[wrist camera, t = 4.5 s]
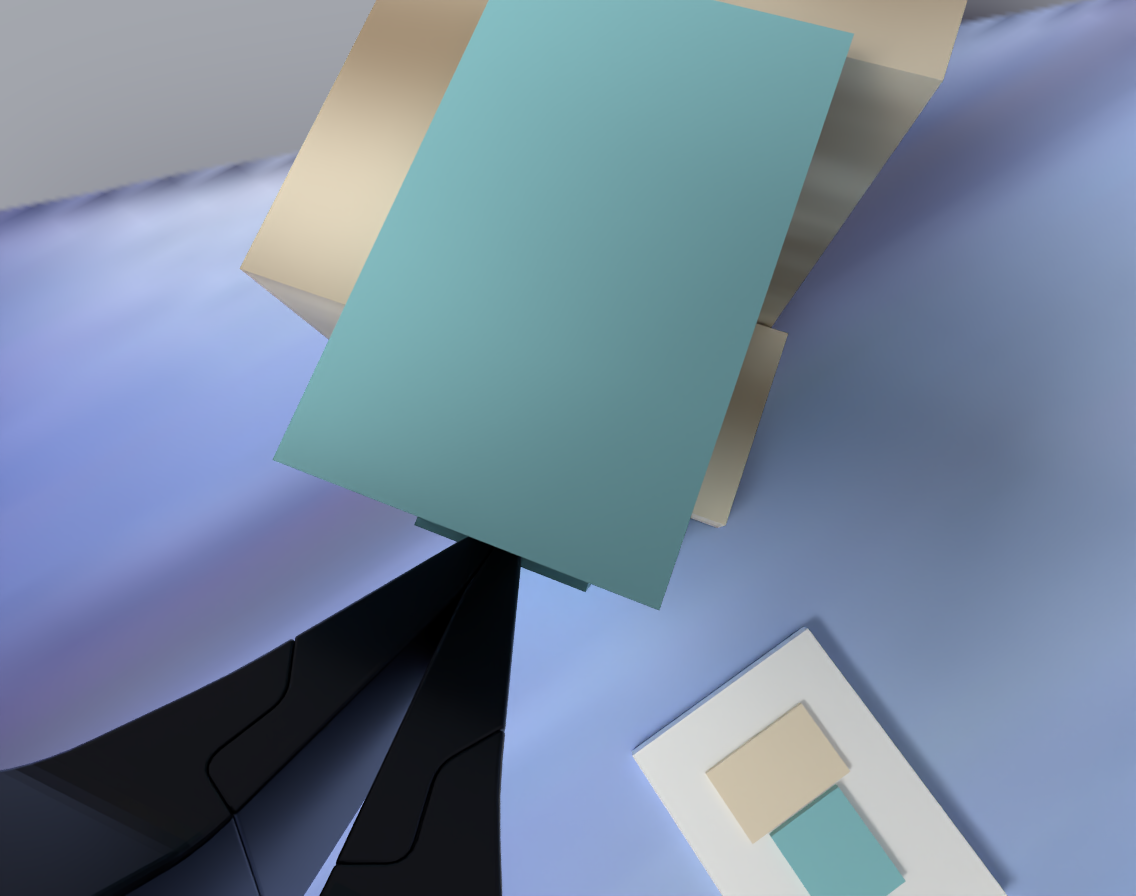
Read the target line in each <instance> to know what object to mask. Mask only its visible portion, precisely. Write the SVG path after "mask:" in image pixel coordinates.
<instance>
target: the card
mask: <svg viewBox="0 0 1136 896" xmlns="http://www.w3.org/2000/svg"><path fill="white" fill-rule="evenodd" d="M632 756H633V757H634V759H635V761H636V762H637V764H638V765H639V767H640V768H641V770H642V771H643V773H644V775H645V776H646V778H647V779H648V781H649V782H650V784H651V785H652V787H653V789H654V790H655V792H656V793H657V795H658V796H659V798H660V799H661V801H662V803H663V804H664V806H665V807H666V809H667V810H668V812H669V813H670V815H671V817H672V818H673V820H674V821H675V823H676V824H677V826H678V827H679V829H680V831H681V832H682V834H683V835H684V837H685V838H686V840H687V841H688V843H689V845H690V846H691V848H692V849H693V851H694V852H695V854H696V855H697V857H698V859H699V860H700V862H701V863H702V865H703V866H704V868H705V869H706V871H707V873H708V874H709V876H710V877H711V879H712V880H713V882H714V883H715V885H716V887H717V888H718V890H719V891H720V893H721V894H722V896H1007V895H1006V893H1005V892H1004V891H1003V889H1002V888H1001V886H1000V885H999V884H998V882H997V881H996V880H995V878H994V877H993V876H992V874H991V873H990V872H989V870H988V869H987V868H986V866H985V865H984V864H983V862H982V861H981V860H980V858H979V857H978V856H977V854H976V853H975V852H974V850H973V849H972V848H971V846H970V845H969V844H968V842H967V841H966V840H965V838H964V837H963V836H962V834H961V833H960V832H959V830H958V829H957V828H956V826H955V825H954V824H953V822H952V821H951V820H950V818H949V817H948V815H947V814H946V813H945V811H944V810H943V809H942V807H941V806H940V805H939V803H938V802H937V801H936V799H935V798H934V797H933V795H932V794H931V793H930V791H929V790H928V789H927V787H926V786H925V785H924V783H923V782H922V781H921V779H920V778H919V777H918V775H917V774H916V773H915V771H914V770H913V769H912V767H911V766H910V765H909V763H908V762H907V761H906V759H905V758H904V757H903V755H902V754H901V753H900V751H899V750H898V748H897V747H896V746H895V744H894V743H893V742H892V740H891V739H890V738H889V736H888V735H887V734H886V732H885V731H884V730H883V728H882V727H881V726H880V724H879V723H878V722H877V720H876V719H875V718H874V716H873V715H872V714H871V712H870V711H869V710H868V708H867V707H866V706H865V704H864V703H863V702H862V700H861V699H860V698H859V696H858V695H857V694H856V692H855V691H854V690H853V688H852V687H851V686H850V684H849V683H848V681H847V680H846V679H845V677H844V676H843V675H842V673H841V672H840V671H839V669H838V668H837V667H836V665H835V664H834V663H833V661H832V660H831V659H830V657H829V656H828V655H827V653H826V652H825V651H824V649H823V648H822V647H821V645H820V644H819V643H818V641H817V640H816V639H815V637H814V636H813V635H812V633H811V632H810V631H809V629H808V628H805V627H802V628H801V629H800V630H798V631H797V632H795V633H794V634H793V635H791V636H790V637H788V638H787V639H786V640H784V641H783V642H782V643H780V644H779V645H777V646H776V647H775V648H773V649H772V650H771V651H769V652H768V653H766V654H765V655H764V656H762V657H761V658H760V659H758V660H757V661H755V662H754V663H753V664H751V665H750V666H748V667H747V668H746V669H744V670H743V671H742V672H740V673H739V674H737V675H736V676H735V677H733V678H732V679H731V680H729V681H728V682H726V683H725V684H724V685H722V686H721V687H720V688H718V689H717V690H715V691H714V692H713V693H711V694H710V695H708V696H707V697H706V698H704V699H703V700H702V701H700V702H699V703H697V704H696V705H695V706H693V707H692V708H691V709H689V710H688V711H686V712H685V713H684V714H682V715H681V716H680V717H678V718H677V719H675V720H674V721H673V722H671V723H670V724H668V725H667V726H666V727H664V728H663V729H662V730H660V731H659V732H657V733H656V734H655V735H653V736H652V737H651V738H649V739H648V740H646V741H645V742H644V743H642V744H641V745H639V746H638V747H637V748H635V749H634V750H633V751H632Z"/></svg>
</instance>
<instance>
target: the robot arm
mask: <svg viewBox="0 0 1136 896" xmlns="http://www.w3.org/2000/svg"><path fill="white" fill-rule="evenodd" d="M521 558H522V557H521V556H518V555H516V554H513V553H510V552H508V551H505V550H503V549H500V548H498V547H495V546H492V545H490V544H487V543H485V542H482V541H480V540H477V539H474V538H472V537H469V536H467V537H465V538H464V539H462V540H460V541H458V542H457V543H455V544H453V545H452V546H450V547H448V548H447V549H445V550H443V551H441V552H440V553H438V554H436V555H435V556H433V557H431V558H429V559H428V560H426V561H424V562H423V563H421V564H419V565H417V566H416V567H414V568H412V569H411V570H409V571H407V572H405V573H404V574H402V575H400V576H399V577H397V578H395V579H393V580H392V581H390V582H388V583H387V584H385V585H383V586H381V587H380V588H378V589H376V590H375V591H373V592H371V593H370V594H368V595H366V596H364V597H363V598H361V599H359V600H358V601H356V602H354V603H352V604H351V605H349V606H347V607H346V608H344V609H342V610H340V611H339V612H337V613H335V614H334V615H332V616H330V617H328V618H327V619H325V620H323V621H322V622H320V623H318V624H316V625H315V626H313V627H311V628H310V629H308V630H306V631H304V632H303V633H301V634H299V635H298V636H296V638H295V641H294V640H292V639H291V640H289V641H287V642H285V643H284V644H282V645H280V646H278V647H277V648H275V649H273V650H272V651H270V652H268V653H266V654H265V655H263V656H261V657H259V658H257V659H256V660H254V661H252V662H250V663H248V664H246V665H245V666H243V667H241V668H239V669H237V670H236V671H234V672H232V673H230V674H228V675H226V676H224V677H222V678H220V679H218V680H216V681H214V682H212V683H210V684H208V685H206V686H204V687H202V688H200V689H198V690H196V691H194V692H192V693H190V694H188V695H186V696H183V697H181V698H179V699H177V700H175V701H173V702H171V703H169V704H166V705H164V706H162V707H160V708H158V709H156V710H154V711H152V712H150V713H147V714H145V715H143V716H141V717H139V718H137V719H135V720H133V721H130V722H128V723H126V724H124V725H122V726H120V727H118V728H116V729H114V730H111V731H109V732H107V733H105V734H103V735H101V736H99V737H97V738H94V739H92V740H90V741H88V742H86V743H84V744H81V745H79V746H77V747H74V748H72V749H70V750H67V751H65V752H62V753H59V754H57V755H54V756H52V757H49V758H46V759H42V760H39V761H36V762H33V763H30V764H26V765H22V766H19V767H15V768H11V769H6V770H1V771H0V896H304V894H305V893H306V891H307V890H308V888H309V887H310V885H311V883H312V882H313V880H314V879H315V877H316V876H317V874H318V872H319V871H320V869H321V868H322V866H323V865H324V863H325V861H326V860H327V858H328V857H329V855H330V853H331V852H332V850H333V849H334V847H335V846H336V844H337V842H338V841H339V839H340V838H341V836H342V835H343V833H344V831H345V830H346V828H347V827H348V825H349V824H350V822H351V820H352V819H353V817H354V816H355V814H356V813H357V811H358V809H359V808H360V806H361V805H362V803H363V801H364V800H365V801H364V803H363V805H362V807H361V809H360V812H359V814H358V816H357V818H356V820H355V822H354V824H353V826H352V829H351V831H350V833H349V835H348V837H347V839H346V841H345V843H344V846H343V848H342V850H341V852H340V854H339V856H338V858H337V861H336V866H334V868H333V869H332V871H331V873H330V876H329V878H328V880H327V882H326V884H325V886H324V888H323V890H322V892H321V893H320V895H319V896H502V871H501V841H500V793H501V777H502V760H503V749H504V739H505V733H504V731H505V726H506V715H507V705H508V694H509V684H510V673H511V663H512V652H513V642H514V631H515V621H516V610H517V600H518V589H519V579H520V568H521ZM365 798H366V799H365Z"/></svg>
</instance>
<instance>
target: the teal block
mask: <svg viewBox="0 0 1136 896" xmlns="http://www.w3.org/2000/svg"><path fill="white" fill-rule="evenodd" d="M853 36H854V33H849V32H845V31H841V30H837V29H833V28H828V27H824V26H820V25H816V24H812V23H807V22H803V21H799V20H795V19H791V18H786V17H782V16H778V15H774V14H770V13H765V12H761V11H757V10H753V9H749V8H745V7H740V6H736V5H732V4H728V3H724V2H719V1H715V0H489V1H488V3H487V5H486V7H485V9H484V11H483V13H482V15H481V18H480V20H479V22H478V24H477V26H476V28H475V30H474V32H473V35H472V37H471V39H470V41H469V43H468V45H467V47H466V49H465V52H464V54H463V56H462V58H461V60H460V62H459V64H458V66H457V69H456V71H455V73H454V75H453V77H452V79H451V81H450V83H449V86H448V88H447V90H446V92H445V94H444V96H443V98H442V100H441V103H440V105H439V107H438V109H437V111H436V113H435V115H434V117H433V120H432V122H431V124H430V126H429V128H428V130H427V132H426V134H425V137H424V139H423V141H422V143H421V145H420V147H419V149H418V152H417V154H416V156H415V158H414V160H413V162H412V164H411V166H410V169H409V171H408V173H407V175H406V177H405V179H404V181H403V183H402V186H401V188H400V190H399V192H398V194H397V196H396V198H395V200H394V203H393V205H392V207H391V209H390V211H389V213H388V215H387V217H386V220H385V222H384V224H383V226H382V228H381V230H380V232H379V234H378V237H377V239H376V241H375V243H374V245H373V247H372V249H371V251H370V254H369V256H368V258H367V260H366V262H365V264H364V266H363V268H362V271H361V273H360V275H359V277H358V279H357V281H356V283H355V285H354V288H353V290H352V292H351V294H350V296H349V298H348V300H347V302H346V305H345V307H344V309H343V311H342V313H341V315H340V317H339V319H338V322H337V324H336V326H335V328H334V330H333V332H332V334H331V336H330V339H329V341H328V343H327V345H326V347H325V349H324V351H323V353H322V356H321V358H320V360H319V362H318V364H317V366H316V368H315V370H314V373H313V375H312V377H311V379H310V381H309V383H308V385H307V387H306V390H305V392H304V394H303V396H302V398H301V400H300V402H299V405H298V407H297V409H296V411H295V413H294V415H293V417H292V419H291V422H290V424H289V426H288V428H287V430H286V432H285V434H284V436H283V439H282V441H281V443H280V445H279V447H278V449H277V451H276V453H275V456H274V458H273V460H274V461H277V462H279V463H282V464H284V465H287V466H290V467H292V468H295V469H297V470H300V471H302V472H305V473H308V474H310V475H313V476H315V477H318V478H320V479H323V480H326V481H328V482H331V483H333V484H336V485H338V486H341V487H344V488H346V489H349V490H351V491H354V492H356V493H359V494H362V495H364V496H367V497H369V498H372V499H374V500H377V501H379V502H382V503H385V504H387V505H390V506H392V507H395V508H397V509H400V510H403V511H405V512H408V513H410V514H413V515H415V516H418V517H417V520H416V522H415V525H416V526H418V527H421V528H423V529H426V530H428V531H431V532H434V533H436V534H439V535H441V536H444V537H446V538H449V539H451V540H454V541H456V542H458V541H460V540H462V539H464V538H465V537H467V536H469V537H472V538H474V539H477V540H480V541H482V542H485V543H487V544H490V545H492V546H495V547H498V548H500V549H503V550H505V551H508V552H510V553H513V554H516V555H518V556H521V557H522V558H521V567H523V568H525V569H528V570H530V571H533V572H536V573H538V574H541V575H543V576H546V577H548V578H551V579H553V580H556V581H559V582H561V583H564V584H566V585H569V586H571V587H574V588H576V589H579V590H582V591H584V592H586V591H587V589H588V588H589V587H590V585H591V584H593V585H595V586H598V587H600V588H603V589H605V590H608V591H611V592H613V593H616V594H618V595H621V596H623V597H626V598H629V599H631V600H634V601H636V602H639V603H641V604H644V605H647V606H649V607H652V608H654V609H657V610H660V607H661V604H662V601H663V598H664V595H665V592H666V589H667V586H668V583H669V580H670V577H671V574H672V571H673V568H674V565H675V562H676V559H677V556H678V553H679V550H680V548H681V545H682V542H683V539H684V536H685V533H686V530H687V527H688V524H689V521H690V518H691V515H692V512H693V509H694V506H695V503H696V500H697V497H698V494H699V491H700V488H701V485H702V482H703V480H704V477H705V474H706V471H707V468H708V465H709V462H710V459H711V456H712V453H713V450H714V447H715V444H716V441H717V438H718V435H719V432H720V429H721V426H722V423H723V420H724V417H725V414H726V411H727V409H728V406H729V403H730V400H731V397H732V394H733V391H734V388H735V385H736V382H737V379H738V376H739V373H740V370H741V367H742V364H743V361H744V358H745V355H746V352H747V349H748V346H749V343H750V341H751V338H752V335H753V332H754V329H755V326H756V323H757V320H758V317H759V314H760V311H761V308H762V305H763V302H764V299H765V296H766V293H767V290H768V287H769V284H770V281H771V278H772V275H773V273H774V270H775V267H776V264H777V261H778V258H779V255H780V252H781V249H782V246H783V243H784V240H785V237H786V234H787V231H788V228H789V225H790V222H791V219H792V216H793V213H794V210H795V207H796V205H797V202H798V199H799V196H800V193H801V190H802V187H803V184H804V181H805V178H806V175H807V172H808V169H809V166H810V163H811V160H812V157H813V154H814V151H815V148H816V145H817V142H818V139H819V136H820V134H821V131H822V128H823V125H824V122H825V119H826V116H827V113H828V110H829V107H830V104H831V101H832V98H833V95H834V92H835V89H836V86H837V83H838V80H839V77H840V74H841V71H842V68H843V66H844V63H845V60H846V57H847V54H848V51H849V48H850V45H851V42H852V39H853Z"/></svg>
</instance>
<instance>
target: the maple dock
mask: <svg viewBox="0 0 1136 896" xmlns="http://www.w3.org/2000/svg"><path fill="white" fill-rule="evenodd" d="M488 1H489V0H376V2H375V4H374V6H373V8H372V10H371V12H370V14H369V16H368V18H367V20H366V22H365V24H364V26H363V28H362V30H361V32H360V34H359V36H358V38H357V39H356V41H355V43H354V46H353V47H352V49H351V51H350V53H349V55H348V57H347V59H346V61H345V63H344V65H343V67H342V69H341V71H340V73H339V75H338V77H337V79H336V81H335V83H334V85H333V87H332V89H331V90H330V93H329V95H328V96H327V98H326V100H325V102H324V104H323V106H322V108H321V110H320V112H319V114H318V116H317V118H316V120H315V122H314V124H313V126H312V128H311V130H310V132H309V134H308V136H307V138H306V139H305V141H304V143H303V145H302V147H301V149H300V151H299V153H298V155H297V157H296V159H295V161H294V163H293V165H292V167H291V169H290V171H289V173H288V175H287V177H286V179H285V181H284V183H283V185H282V187H281V189H280V190H279V192H278V194H277V196H276V198H275V200H274V202H273V204H272V206H271V208H270V210H269V212H268V214H267V216H266V218H265V220H264V222H263V224H262V226H261V228H260V230H259V232H258V234H257V236H256V238H255V240H254V241H253V243H252V245H251V247H250V249H249V251H248V253H247V255H246V257H245V259H244V261H243V263H242V265H241V267H240V269H241V270H242V271H243V272H245V273H246V274H247V275H248V276H250V277H251V278H252V279H253V280H255V281H256V282H257V283H258V284H260V285H261V286H262V287H263V288H265V289H266V290H267V291H268V292H270V293H271V294H272V295H273V296H275V297H276V298H277V299H278V300H280V301H281V302H282V303H283V304H285V305H286V306H287V307H288V308H290V309H291V310H292V311H293V312H295V313H296V314H297V315H298V316H300V317H301V318H302V319H303V320H305V321H306V322H307V323H309V324H310V325H311V326H312V327H314V328H315V329H316V330H317V331H319V332H320V333H321V334H322V335H324V336H325V337H326V338H327V339H330V336H331V334H332V332H333V330H334V328H335V326H336V324H337V322H338V319H339V317H340V315H341V313H342V311H343V309H344V307H345V305H346V302H347V300H348V298H349V296H350V294H351V292H352V290H353V288H354V285H355V283H356V281H357V279H358V277H359V275H360V273H361V271H362V268H363V266H364V264H365V262H366V260H367V258H368V256H369V254H370V251H371V249H372V247H373V245H374V243H375V241H376V239H377V237H378V234H379V232H380V230H381V228H382V226H383V224H384V222H385V220H386V217H387V215H388V213H389V211H390V209H391V207H392V205H393V203H394V200H395V198H396V196H397V194H398V192H399V190H400V188H401V186H402V183H403V181H404V179H405V177H406V175H407V173H408V171H409V169H410V166H411V164H412V162H413V160H414V158H415V156H416V154H417V152H418V149H419V147H420V145H421V143H422V141H423V139H424V137H425V134H426V132H427V130H428V128H429V126H430V124H431V122H432V120H433V117H434V115H435V113H436V111H437V109H438V107H439V105H440V103H441V100H442V98H443V96H444V94H445V92H446V90H447V88H448V86H449V83H450V81H451V79H452V77H453V75H454V73H455V71H456V69H457V66H458V64H459V62H460V60H461V58H462V56H463V54H464V52H465V49H466V47H467V45H468V43H469V41H470V39H471V37H472V35H473V32H474V30H475V28H476V26H477V24H478V22H479V20H480V18H481V15H482V13H483V11H484V9H485V7H486V5H487V3H488ZM715 1H719V2H724V3H728V4H732V5H736V6H740V7H745V8H749V9H753V10H757V11H761V12H765V13H770V14H774V15H778V16H782V17H786V18H791V19H795V20H799V21H803V22H807V23H812V24H816V25H820V26H824V27H828V28H833V29H837V30H841V31H845V32H849V33H854V36H853V39H852V42H851V45H850V48H849V51H848V54H847V57H846V60H845V63H844V66H843V68H842V71H841V74H840V77H839V80H838V83H837V86H836V89H835V92H834V95H833V98H832V101H831V104H830V107H829V110H828V113H827V116H826V119H825V122H824V125H823V128H822V131H821V134H820V136H819V139H818V142H817V145H816V148H815V151H814V154H813V157H812V160H811V163H810V166H809V169H808V172H807V175H806V178H805V181H804V184H803V187H802V190H801V193H800V196H799V199H798V202H797V205H796V207H795V210H794V213H793V216H792V219H791V222H790V225H789V228H788V231H787V234H786V237H785V240H784V243H783V246H782V249H781V252H780V255H779V258H778V261H777V264H776V267H775V270H774V273H773V275H772V278H771V281H770V284H769V287H768V290H767V293H766V296H765V299H764V302H763V305H762V308H761V311H760V314H759V317H758V320H757V323H756V326H755V329H754V332H753V335H752V338H751V341H750V343H749V346H748V349H747V352H746V355H745V358H744V361H743V364H742V367H741V370H740V373H739V376H738V379H737V382H736V385H735V388H734V391H733V394H732V397H731V400H730V403H729V406H728V409H727V411H726V414H725V417H724V420H723V423H722V426H721V429H720V432H719V435H718V438H717V441H716V444H715V447H714V450H713V453H712V456H711V459H710V462H709V465H708V468H707V471H706V474H705V477H704V480H703V482H702V485H701V488H700V491H699V494H698V497H697V500H696V503H695V506H694V509H693V512H692V515H691V518H692V519H694V520H697V521H700V522H703V523H705V524H708V525H711V526H714V527H716V528H719V527H722V526H725V525H726V523H727V519H728V516H729V513H730V510H731V507H732V504H733V501H734V498H735V495H736V492H737V489H738V486H739V483H740V480H741V477H742V474H743V471H744V467H745V464H746V461H747V458H748V455H749V452H750V449H751V446H752V443H753V440H754V437H755V434H756V431H757V428H758V425H759V422H760V419H761V416H762V412H763V409H764V406H765V403H766V400H767V397H768V394H769V391H770V388H771V385H772V382H773V379H774V376H775V373H776V370H777V367H778V364H779V360H780V357H781V354H782V351H783V348H784V345H785V342H786V339H787V336H788V333H785V332H782V331H779V330H776V329H772V328H771V327H772V326H773V324H774V323H775V321H776V320H777V318H778V317H779V316H780V314H781V313H782V311H783V310H784V308H785V307H786V305H787V304H788V303H789V301H790V300H791V298H792V297H793V295H794V294H795V293H796V291H797V290H798V288H799V287H800V285H801V284H802V282H803V281H804V280H805V278H806V277H807V275H808V274H809V272H810V271H811V270H812V268H813V267H814V265H815V264H816V262H817V261H818V260H819V258H820V257H821V255H822V254H823V252H824V251H825V249H826V248H827V247H828V245H829V244H830V242H831V241H832V239H833V238H834V237H835V235H836V234H837V232H838V231H839V229H840V228H841V226H842V225H843V224H844V222H845V221H846V219H847V218H848V216H849V215H850V214H851V212H852V211H853V209H854V208H855V206H856V205H857V203H858V202H859V201H860V199H861V198H862V196H863V195H864V193H865V192H866V191H867V189H868V188H869V186H870V185H871V183H872V182H873V180H874V179H875V178H876V176H877V175H878V173H879V172H880V170H881V169H882V168H883V166H884V165H885V163H886V162H887V160H888V159H889V157H890V156H891V155H892V153H893V152H894V150H895V149H896V147H897V146H898V145H899V143H900V142H901V140H902V139H903V137H904V136H905V134H906V133H907V132H908V130H909V129H910V127H911V126H912V124H913V123H914V122H915V120H916V119H917V117H918V116H919V114H920V113H921V112H922V110H923V109H924V107H925V106H926V104H927V103H928V101H929V100H930V99H931V97H932V96H933V94H934V93H935V91H936V90H937V89H938V87H939V86H940V84H941V83H942V81H943V79H944V76H945V72H946V69H947V66H948V63H949V59H950V56H951V53H952V49H953V46H954V43H955V39H956V36H957V33H958V30H959V26H960V23H961V20H962V16H963V13H964V9H965V6H966V3H967V0H715Z"/></svg>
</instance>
